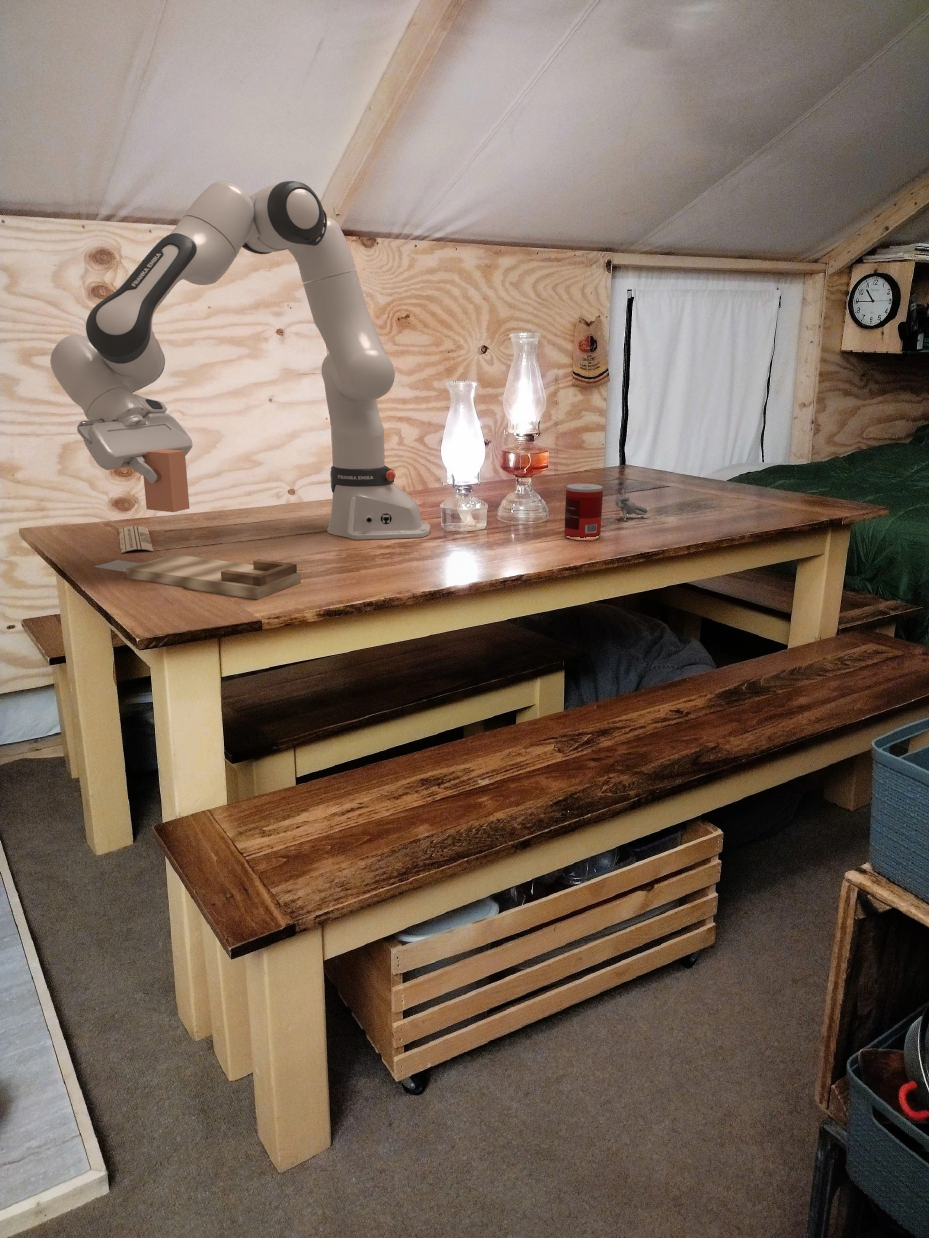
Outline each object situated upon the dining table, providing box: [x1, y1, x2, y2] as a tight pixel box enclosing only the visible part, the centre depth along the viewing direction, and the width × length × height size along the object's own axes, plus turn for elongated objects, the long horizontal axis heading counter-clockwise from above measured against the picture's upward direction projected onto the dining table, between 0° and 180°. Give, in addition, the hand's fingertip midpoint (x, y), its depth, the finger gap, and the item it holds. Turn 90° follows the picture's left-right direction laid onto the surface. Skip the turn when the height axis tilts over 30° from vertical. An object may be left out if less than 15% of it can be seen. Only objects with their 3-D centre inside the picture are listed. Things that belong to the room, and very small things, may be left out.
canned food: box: [563, 483, 604, 538], centre depth 197 cm, size 8×8×11 cm
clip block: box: [142, 449, 190, 513], centre depth 159 cm, size 6×4×10 cm, turn 65°
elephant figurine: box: [614, 488, 650, 518], centre depth 219 cm, size 10×6×9 cm
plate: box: [93, 559, 143, 573], centre depth 168 cm, size 8×6×1 cm
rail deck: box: [125, 553, 302, 600], centre depth 160 cm, size 28×12×4 cm, turn 65°
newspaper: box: [118, 525, 154, 554], centre depth 189 cm, size 24×7×2 cm, turn 21°
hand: (168, 478), depth 159 cm, fingers closed on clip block, 4 cm apart
